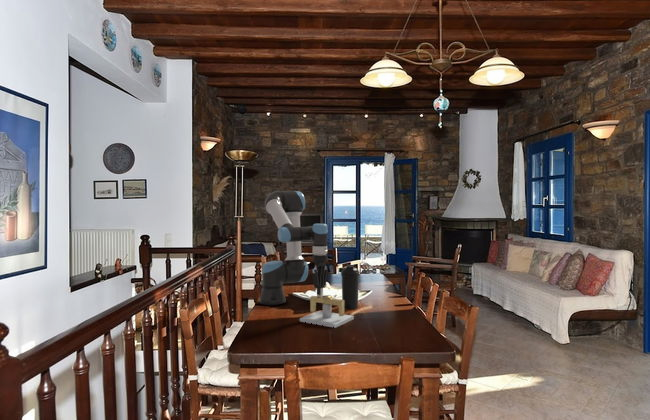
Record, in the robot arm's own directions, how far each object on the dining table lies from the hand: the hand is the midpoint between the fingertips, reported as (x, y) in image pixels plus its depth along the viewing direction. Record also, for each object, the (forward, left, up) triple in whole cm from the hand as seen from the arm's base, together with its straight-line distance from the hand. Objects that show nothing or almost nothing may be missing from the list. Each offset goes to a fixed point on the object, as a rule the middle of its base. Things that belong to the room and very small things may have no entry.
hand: (319, 300), depth 224 cm
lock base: (+7, -4, -8) cm, 11 cm away
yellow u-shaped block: (+7, -4, -5) cm, 9 cm away
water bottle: (+4, +25, -8) cm, 26 cm away
